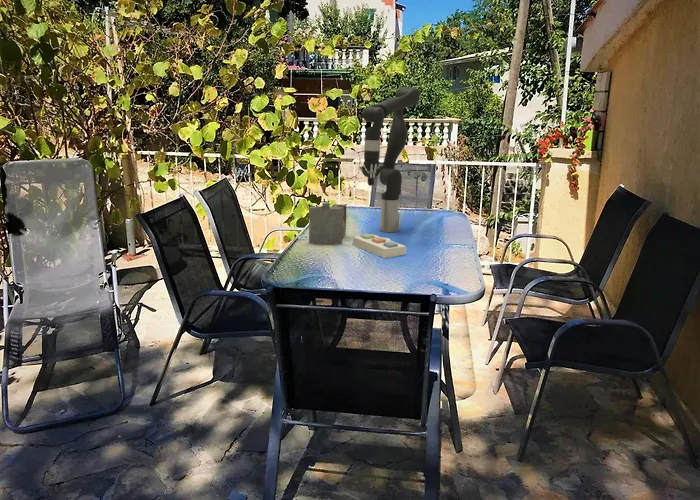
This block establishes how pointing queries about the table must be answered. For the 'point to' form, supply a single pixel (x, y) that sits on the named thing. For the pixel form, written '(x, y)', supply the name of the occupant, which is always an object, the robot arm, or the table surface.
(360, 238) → the button panel
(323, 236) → the hip flask
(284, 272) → the table surface
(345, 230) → the coffee box
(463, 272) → the table surface
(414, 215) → the table surface
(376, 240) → the key terracotta
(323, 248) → the table surface
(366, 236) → the key sage
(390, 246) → the key slate
